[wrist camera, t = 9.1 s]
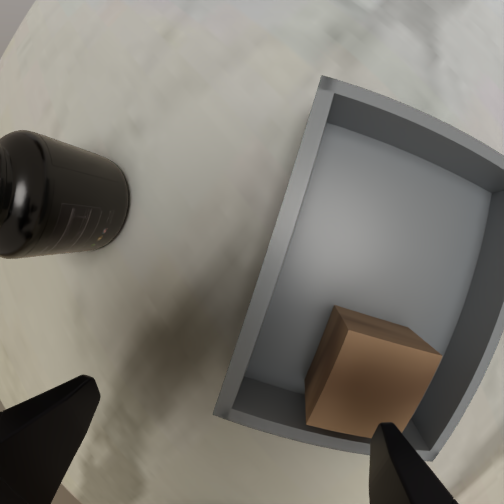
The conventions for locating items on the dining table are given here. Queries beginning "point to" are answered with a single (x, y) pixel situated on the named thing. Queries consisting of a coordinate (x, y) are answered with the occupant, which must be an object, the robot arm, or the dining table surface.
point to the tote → (375, 263)
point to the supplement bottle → (56, 197)
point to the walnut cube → (366, 374)
